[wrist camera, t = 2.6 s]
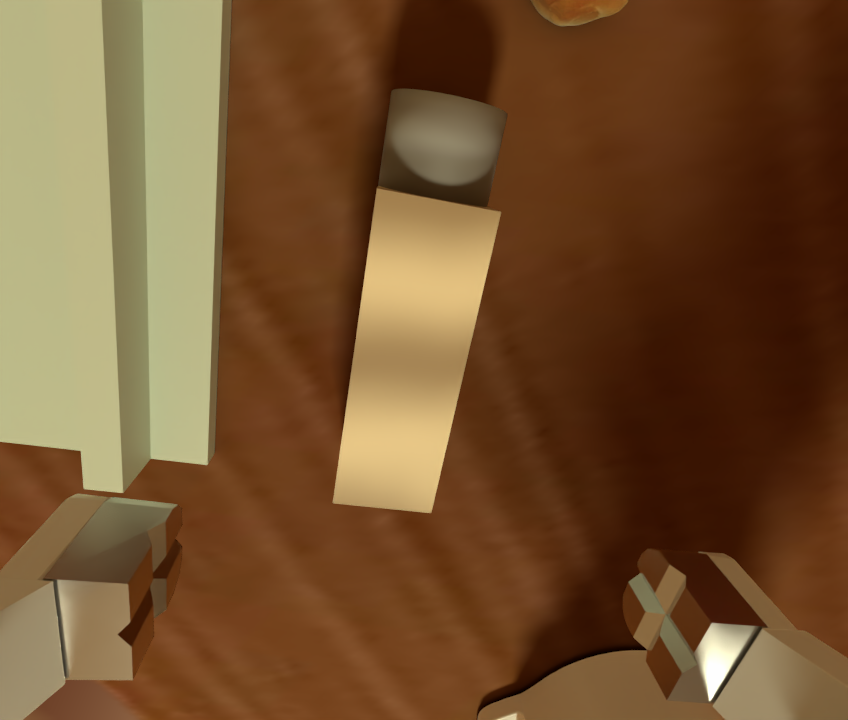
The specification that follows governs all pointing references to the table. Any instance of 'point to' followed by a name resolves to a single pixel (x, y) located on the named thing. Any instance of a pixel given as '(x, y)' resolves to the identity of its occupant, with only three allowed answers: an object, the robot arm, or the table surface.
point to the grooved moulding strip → (112, 228)
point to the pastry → (577, 10)
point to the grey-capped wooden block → (419, 296)
